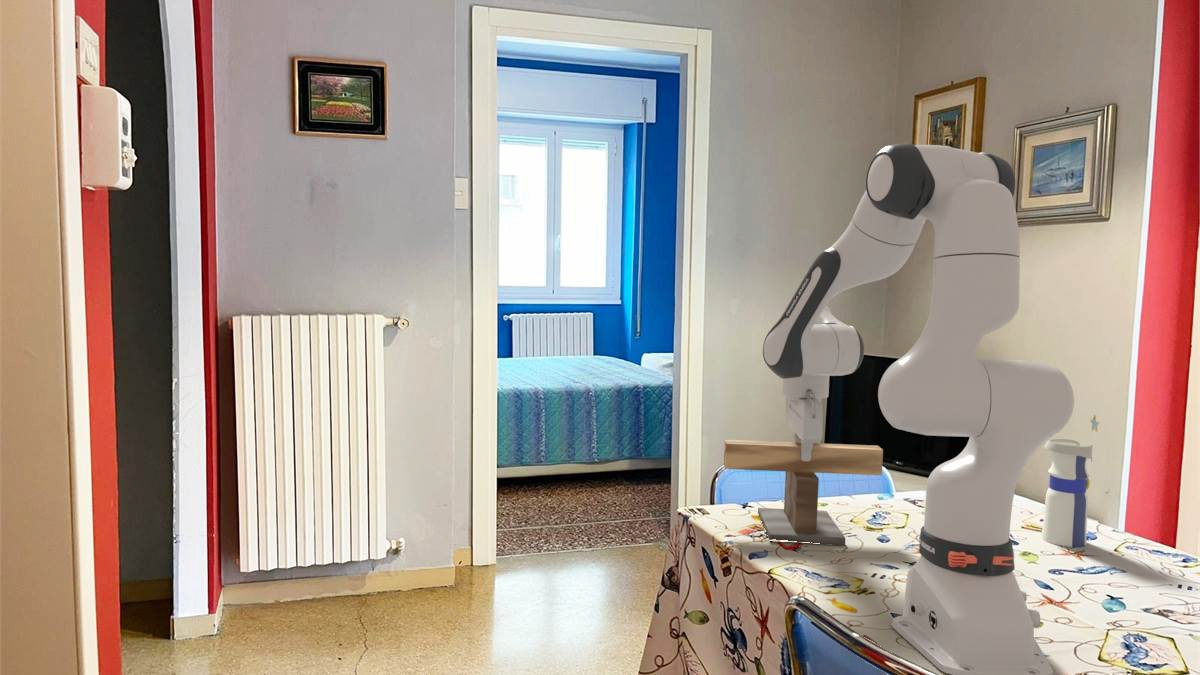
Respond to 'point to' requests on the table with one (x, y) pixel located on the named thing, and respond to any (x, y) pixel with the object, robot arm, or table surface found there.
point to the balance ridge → (801, 514)
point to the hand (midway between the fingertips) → (802, 456)
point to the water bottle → (1067, 492)
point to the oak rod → (789, 460)
